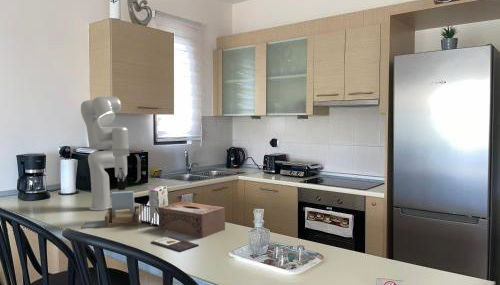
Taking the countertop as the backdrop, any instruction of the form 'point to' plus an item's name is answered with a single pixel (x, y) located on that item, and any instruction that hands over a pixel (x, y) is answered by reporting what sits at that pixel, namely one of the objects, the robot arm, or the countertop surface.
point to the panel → (123, 202)
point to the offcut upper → (122, 213)
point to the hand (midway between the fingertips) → (122, 188)
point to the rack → (109, 218)
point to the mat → (94, 224)
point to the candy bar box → (157, 199)
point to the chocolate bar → (175, 244)
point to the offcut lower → (122, 219)
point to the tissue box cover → (192, 219)
